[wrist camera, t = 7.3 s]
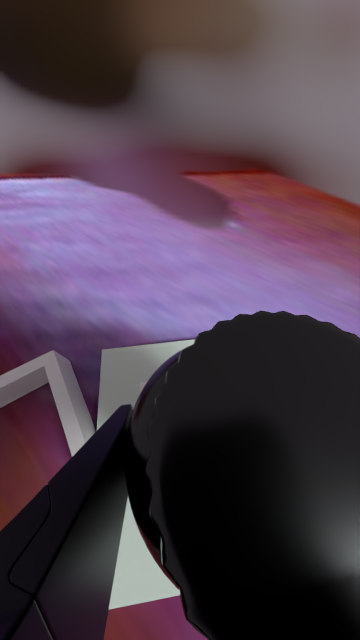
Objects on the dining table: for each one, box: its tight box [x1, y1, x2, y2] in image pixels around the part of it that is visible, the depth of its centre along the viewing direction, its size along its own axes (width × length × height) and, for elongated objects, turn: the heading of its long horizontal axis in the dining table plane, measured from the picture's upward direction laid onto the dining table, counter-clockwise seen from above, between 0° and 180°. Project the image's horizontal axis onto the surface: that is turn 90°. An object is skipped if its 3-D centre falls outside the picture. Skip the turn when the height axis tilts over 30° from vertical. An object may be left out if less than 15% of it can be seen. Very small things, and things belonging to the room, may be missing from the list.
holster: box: [0, 350, 96, 457], centre depth 15 cm, size 10×12×3 cm
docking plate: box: [97, 340, 195, 610], centre depth 16 cm, size 16×16×1 cm
